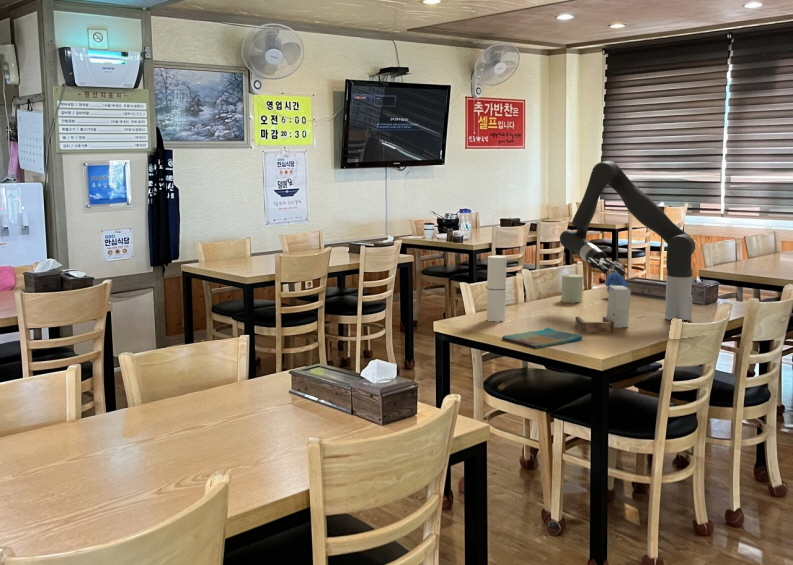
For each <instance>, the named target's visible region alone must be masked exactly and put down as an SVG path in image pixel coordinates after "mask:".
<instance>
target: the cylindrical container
mask: <svg viewBox="0 0 793 565" xmlns="http://www.w3.org/2000/svg"><path fill="white" fill-rule="evenodd" d="M507 259H508V258H507V256H506V255H488V256H487V278H486V279H487V281H486V284H487V285H486V290H487V291H486V321H487V320H489V321H495V322H494V323H501V322H500V321H504V322H505V321H506V298H507V296H506V294H507V292H506V291H507V284H506V283H507ZM489 321H488V322H489Z"/></svg>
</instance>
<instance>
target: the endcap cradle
mask: <svg viewBox="0 0 793 565" xmlns="http://www.w3.org/2000/svg"><path fill="white" fill-rule="evenodd" d="M574 319H575V321H574V322H575V323H574V328H575V329H576V330H578V331H579V332H580V333H581V334H600V335H601V334H610V335H611V334H612V335H614V334H615V333H614V332H615V331H614V330H615V328H614V322H612V321H611V320H610V319H608V318H607V316H602V321H584V320H583V318H581V317H580V316H575V318H574Z"/></svg>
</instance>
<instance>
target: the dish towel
mask: <svg viewBox="0 0 793 565" xmlns="http://www.w3.org/2000/svg"><path fill="white" fill-rule="evenodd" d="M582 339H583V336H582V335H581V334H580V333H572V332H566V331H561V330H556V329H553V328H550V327H549V326H547V327H546V328H543V329H541V330H537V331H536V330H531V331H526V332H520V333H518V332H517V333H513V334H512V333H511V334H507V335H502V337H501V341H504V342H508V343H512V344H514V345H515V344H516V345H519V346H521V347H527V348H530V349H534V350H538V349H544V348H550V347H555V346H558V345H566V344H570V343H575V342H579V341H582Z"/></svg>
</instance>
